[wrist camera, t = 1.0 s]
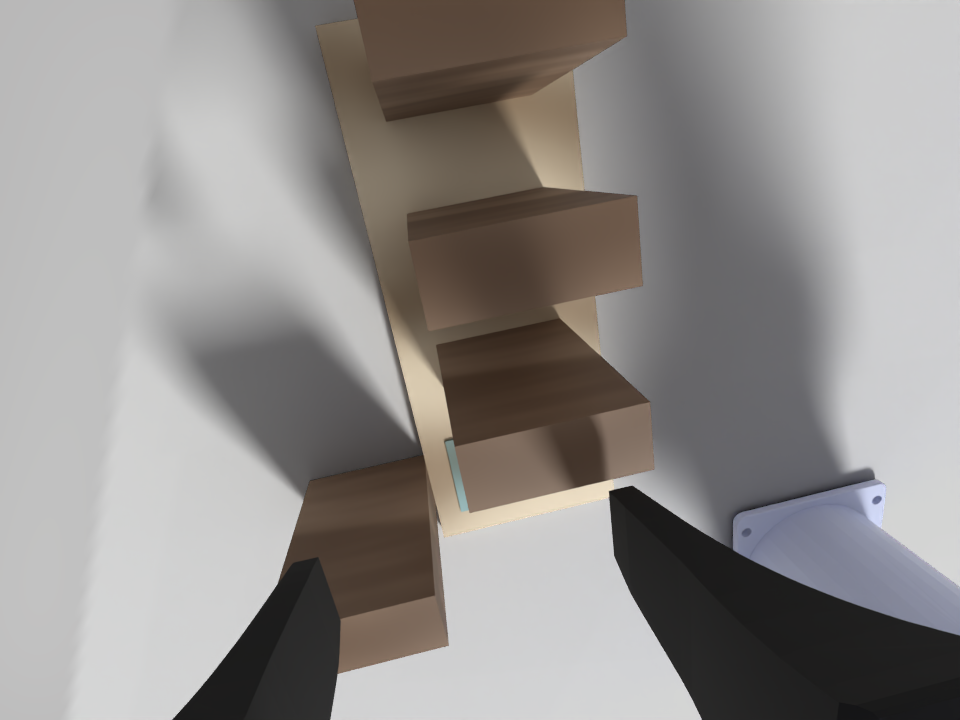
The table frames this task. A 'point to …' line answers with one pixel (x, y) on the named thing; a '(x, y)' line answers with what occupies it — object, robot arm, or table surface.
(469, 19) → the domino
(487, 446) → the domino
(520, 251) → the domino
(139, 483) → the table surface
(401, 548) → the domino
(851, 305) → the table surface
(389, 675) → the table surface
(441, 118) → the board
